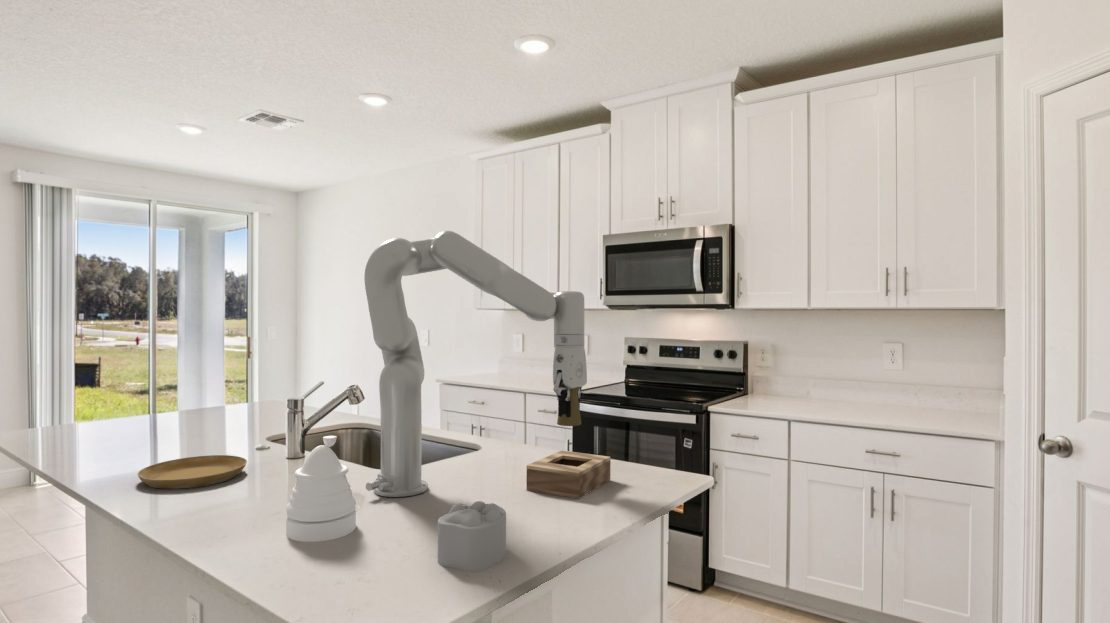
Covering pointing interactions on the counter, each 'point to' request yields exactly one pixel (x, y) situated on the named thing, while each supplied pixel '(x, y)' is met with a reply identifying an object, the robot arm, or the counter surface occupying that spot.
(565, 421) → the cork
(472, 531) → the lumpy-topped squat cylinder
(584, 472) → the drop box
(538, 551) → the counter surface
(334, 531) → the honey pot
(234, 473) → the plant saucer
